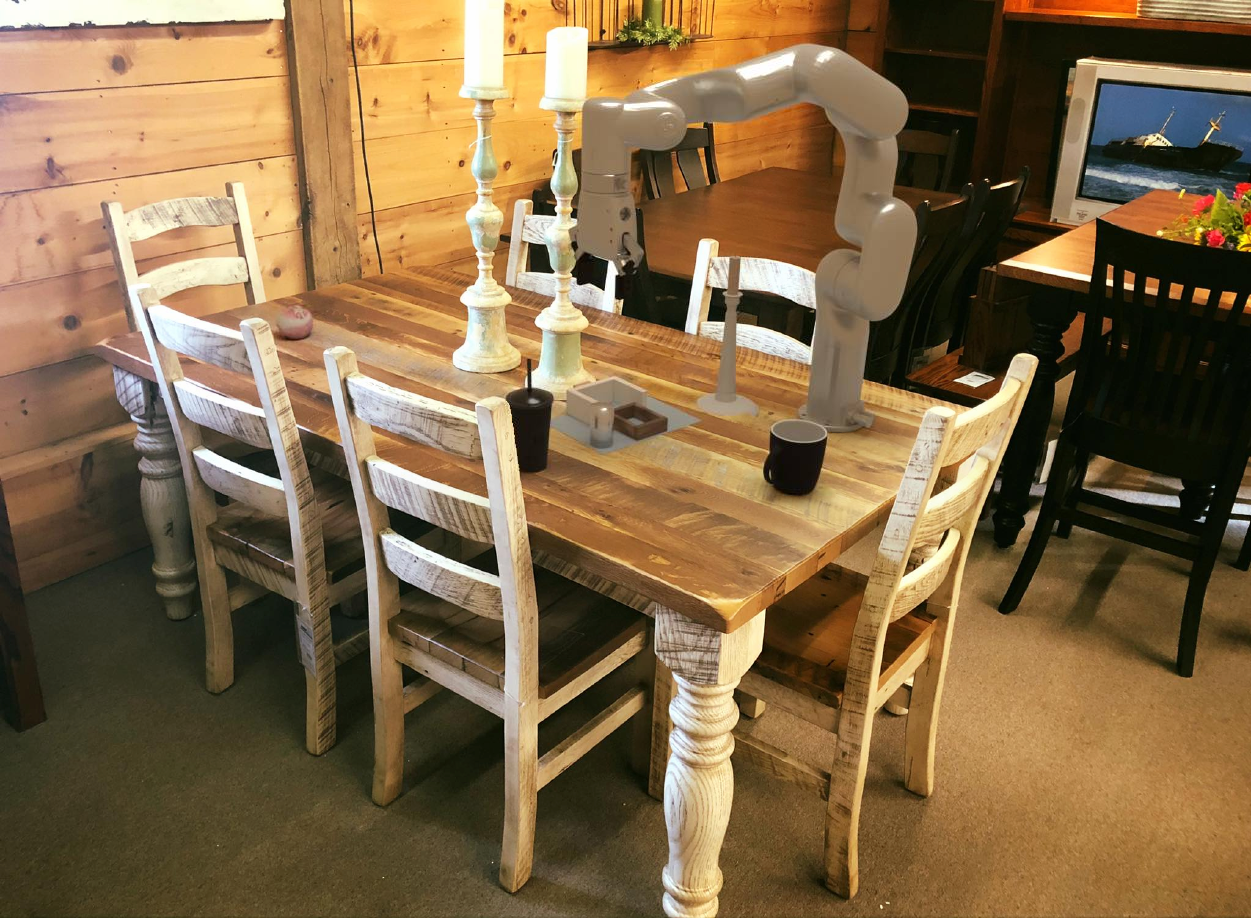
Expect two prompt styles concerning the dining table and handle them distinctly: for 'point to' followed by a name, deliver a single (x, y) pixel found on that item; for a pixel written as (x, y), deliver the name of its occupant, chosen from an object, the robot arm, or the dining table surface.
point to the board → (582, 432)
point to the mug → (795, 456)
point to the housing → (602, 396)
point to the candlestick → (729, 357)
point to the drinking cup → (531, 424)
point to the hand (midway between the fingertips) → (603, 291)
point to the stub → (601, 424)
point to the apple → (295, 322)
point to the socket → (651, 420)
